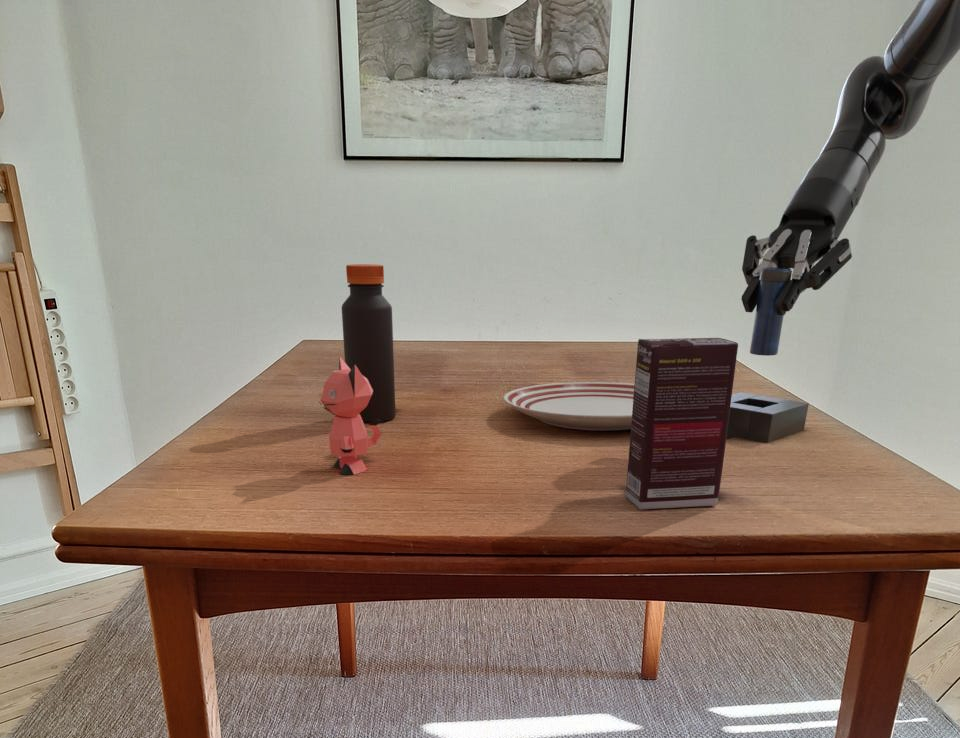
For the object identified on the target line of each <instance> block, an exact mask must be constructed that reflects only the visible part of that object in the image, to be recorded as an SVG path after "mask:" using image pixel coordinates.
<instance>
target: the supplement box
mask: <svg viewBox="0 0 960 738" xmlns="http://www.w3.org/2000/svg"><path fill="white" fill-rule="evenodd" d="M738 349H739V343H738V342H736V341H734V340H730V339H727V338H726V339H725V338H722V337H694V338H693V337H692V338H689V337H688V338H639V339H638V340H637V349H636V350H637V351H636V360H635V361H636V362H635V374H634V384H635V386H634V396H633V410H632V422H631V430H630V436H629V447H628V448H629V449H628V461H627V472H626V483H625V498H627V499H628V500H629V501H630V502H631V503H632V504H633V505H634V506H635V507H636V508H638V509H639V510H640V511H643V510H658V509H659V510H661V509H674V508H675V509H676V508H679V509H680V508H693V507H712V506H713V507H715V506H718V504H719V497H720V490H721V482H722V474H723V467H724V462H725V461H724V460H725V459H724V458H725V453H726V443H727V440H726V437H727V429H728V422H729V413H730V405H731V397H732V395H733V389H734V388H733V387H734V381H735V372H736V367H737V366H736V365H737V359H738V358H737V357H738Z"/></svg>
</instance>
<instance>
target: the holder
mask: <svg viewBox="0 0 960 738" xmlns="http://www.w3.org/2000/svg"><path fill="white" fill-rule="evenodd" d="M809 404H810V403H809V402H805V401H798V400H797V401H796V400H791V399H785V398H778V397H772V396H765V395H760V394H759V395H758V394H753V393H748V392H747V393H746V392H741V391H740V392H736V393H732V397H731V405H730V413H729V422H728V429H727V437H726V441H727V440H731V439H733V438H740V439H744V440H745V439H746V440H751V441H755V442H760V443H766V444H769V443H772V442H775V441H777V440H781V439H783V438H788V437H790V436H792V435H795V434H797V433H801V432H803V431H805V426H806V422H807V416H808V410H809V406H810V405H809Z"/></svg>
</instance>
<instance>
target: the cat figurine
mask: <svg viewBox="0 0 960 738" xmlns="http://www.w3.org/2000/svg"><path fill="white" fill-rule="evenodd" d="M338 357H339V359H338V361H339V362H338V369H336V370H334V371H333V372H332V373H331V374H330V375H329V377H328V378H327V379H326V381H324V385H323V390H322V393H321V392H319V395H321V397H320V401H318V403H319V404H320V406H321V407H322V408H323V410H326V412H328V413H330V414H332V415H333V416H334V417H333V421H332V424H331V428H330V432H329V435H328V441H329V448H330V454H331V455H333V456H337V457H338V458H337V459H336V461H335V462H334V463H333V464H332V467H333V468H337V469H340V472H339V474H340V475H342V476H354V475H358V474H361V473H365V472H366V471H367V470H368V468H367V466H366V465H365V463H364V461H363V460H362V458H360V457H357V456H365V455H367V454H368V447H373V446H375V445H376V443H377V442H378V440H379V439H380V437H381V436H382V434H383V432H382V431H381V429H380V428H379V427H378V426H377V425H379V424H380V423H382V422H381V421H380V420H378V419H374V420H373V421H372V422H371V423H369V424H368V427H369V428H370V430H372V432H373V434H372V436H371V438H369V434H368V431H367V428H366V425H365V422H363V421H362V418H361V416H360V414H359V413H360V412H361V411H362V410H363V409H365V408H366V407H367V405H368V403H369V400H370V398H371V396H372V393H373V389H372V387H371V385H370V383H369V381H368V379H367V378H365V377H364V376H363V375H362V374H361V372H360V371H359V369H358V368H357V366H356V365H354V366H353V368H352V369H350V368H349V367H348V366H347V364H346V363H345V360H343V358H342V357H341V356H340V355H339V356H338Z"/></svg>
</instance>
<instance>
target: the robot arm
mask: <svg viewBox="0 0 960 738" xmlns="http://www.w3.org/2000/svg"><path fill="white" fill-rule="evenodd" d="M959 51H960V0H918V1H917V3H916V5H915V6H914V7H913V9H912V10H911V11H910V13H909V14H908V16H907V18H906V19H905V20H904V21H903V22H902V24H901V26H900V27H899V29H898V30H897V31H896V33H895V34H894V36H893V37H892V38H891V40H890V42H889V43H888V45H887V48H886V49H885V52H884V55H883V56H880V55H872V56H868V57H866V58H865V59H863V60H861V61H860V62H859V63H858V64H856V65H855V67H854V68H853V69H852V70H851V72H850V73H849V75H848V76H847V78H846V80H845V82H844V84H843V87H842V90H841V93H840V97H839V100H838V103H837V104H838V105H837V109H836V115H835V120H834V123H833V127H832V131H831V132H830V136H829V137H828V138H827V141H826V143H824V146H823V148H822V149H821V151H820V153H819V155H818V157H817V158H816V159H815V161H814V162H813V163H812V165H811V166H810V167H809V168H808V170H807V171H806V173H805V175H804V177H803V178H802V179H801V182H800V184H799V185H798V187H797V188H796V190H795V192H794V194H793V196H792V197H791V198H790V201H789V203H788V204H787V206H786V207H785V210H784V211H783V213H782V215H781V218H780V222H779V223H778V224H779V225H778V226H777V227H776V228H775V229H774V230H773V231H771V232H770V233H769V236H768V237H765V238H759V239H758V238H757V236H756V235H755V234H754V235H753V234H752V235H750V236H748V237H747V239H746V242H745V248H744V255H743V261H742V267H741V271H742V274H743V277H744V280H745V283H746V285H747V286H746V288H745V290H744V291H743V293H742V295H741V302H742V305H743V306H742V307H743V308H744V311H745V313H753V312H754V310H756V307H757V300H758V293H759V286H760V280H759V278H760V271H761V270H762V268H789V269H793V270H792V275H791V280H788V281H787V283H786V284H785V286H784V288H783V290H782V291H781V293H780V295H779V297H778V298H777V300H776V302H775V309H776V312H777V315H783V317H784V316H785V315H786V313H787V312H790V311H791V310H792V309H793V308H794V306H795V304H796V302H797V300H798V298H799V297H800V295H801V294H802V293H804V292H805V291H806V290H807V289H812V290H813V291H817V290H820V289H822V287H823V286H825V284H827V282H828V281H829V280H831V279H832V277H834V275H836V274H837V273H838V272H839V271H840V270H841V269H842V268H843V267H845V265H846V264H847V263H848V262H849V261H850V260H851V259H852V257H853V254H852V248H851V244H850V240H849V238H846V237H845V238H842V239H840V240H838V239H839V238H840V236H841V234H842V232H843V230H844V229H845V228H846V226H847V223H848V222H849V220H850V218H851V216H852V214H853V213H854V211H855V209H856V208H857V207H858V206H859V203H860V201H861V199H862V197H863V194H864V192H865V189H866V187H867V184H868V182H869V180H870V178H871V177H872V175H873V173H874V171H875V170H876V168H877V167H878V165H879V163H880V161H881V159H882V157H883V155H884V153H885V150H886V140H888V141H889V140H890V141H892V140H897V139H901V138H902V137H905V136H906V135H908V134H909V133H910V132H911V130H913V128H915V126H916V125H917V124H918V122H919V121H920V119H921V117H922V115H923V114H924V111H925V108H926V107H927V104H928V101H929V99H930V95H931V93H932V90H933V87H934V85H935V82H936V81H937V79H938V78H939V76H940V74H941V73H942V71H943V70H944V69H946V67H947V66H948V65H949V64H950V62H951V61H952V60H953V58H954V57H955V56H956V55H957V54H958V52H959ZM760 260H761V262H760Z"/></svg>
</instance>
